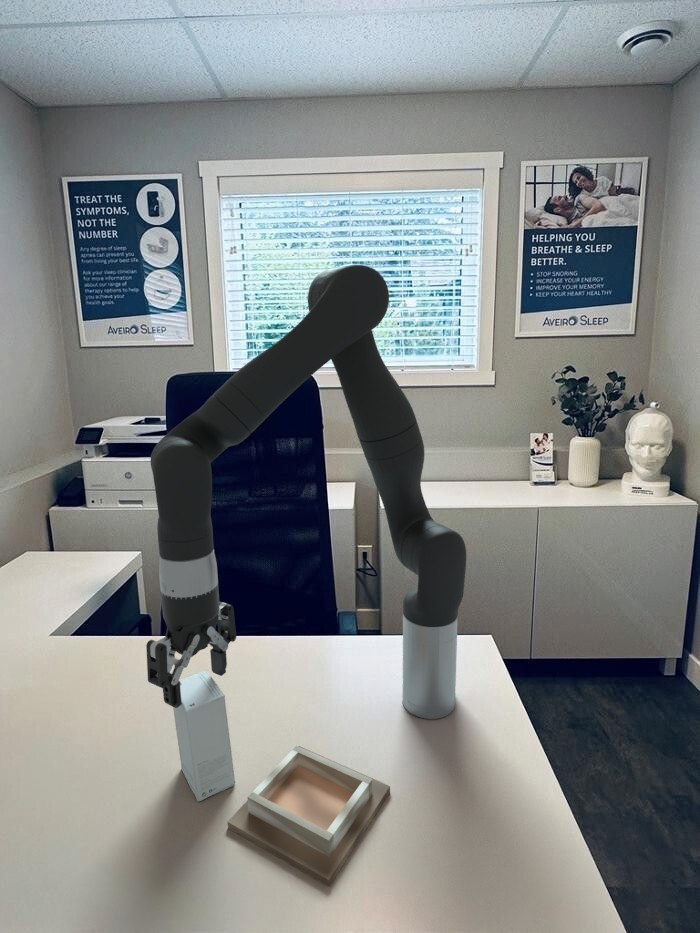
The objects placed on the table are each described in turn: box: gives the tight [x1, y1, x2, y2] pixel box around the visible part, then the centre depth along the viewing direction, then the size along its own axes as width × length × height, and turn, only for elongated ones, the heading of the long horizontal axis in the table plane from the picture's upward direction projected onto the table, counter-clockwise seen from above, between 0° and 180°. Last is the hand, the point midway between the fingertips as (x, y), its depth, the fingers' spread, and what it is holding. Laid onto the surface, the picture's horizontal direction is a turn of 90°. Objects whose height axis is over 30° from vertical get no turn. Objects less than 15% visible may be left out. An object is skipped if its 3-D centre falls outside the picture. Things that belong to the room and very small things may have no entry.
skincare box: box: [172, 670, 236, 802], centre depth 80 cm, size 8×6×15 cm
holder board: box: [227, 745, 391, 887], centre depth 75 cm, size 16×16×4 cm
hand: (197, 688), depth 78 cm, fingers open, 8 cm apart
